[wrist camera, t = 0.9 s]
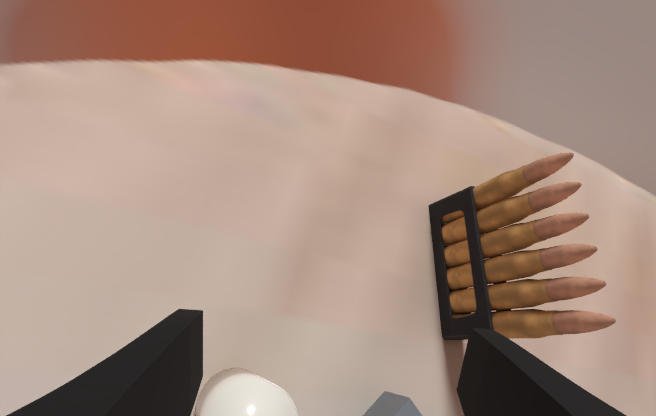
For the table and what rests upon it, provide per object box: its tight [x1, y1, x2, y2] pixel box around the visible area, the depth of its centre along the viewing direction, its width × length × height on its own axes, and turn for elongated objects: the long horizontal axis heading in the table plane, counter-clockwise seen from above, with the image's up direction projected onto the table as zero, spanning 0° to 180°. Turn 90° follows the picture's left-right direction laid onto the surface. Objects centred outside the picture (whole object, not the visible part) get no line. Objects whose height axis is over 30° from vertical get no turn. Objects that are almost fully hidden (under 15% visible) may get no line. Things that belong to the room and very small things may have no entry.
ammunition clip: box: [429, 153, 616, 340], centre depth 24 cm, size 11×2×12 cm, turn 0°
